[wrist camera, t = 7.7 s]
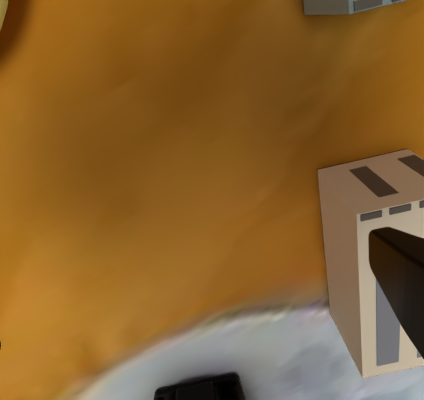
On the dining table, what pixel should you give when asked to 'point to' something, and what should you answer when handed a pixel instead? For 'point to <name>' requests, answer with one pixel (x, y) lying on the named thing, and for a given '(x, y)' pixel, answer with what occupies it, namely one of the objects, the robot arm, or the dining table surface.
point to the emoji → (3, 11)
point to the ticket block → (359, 253)
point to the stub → (342, 6)
